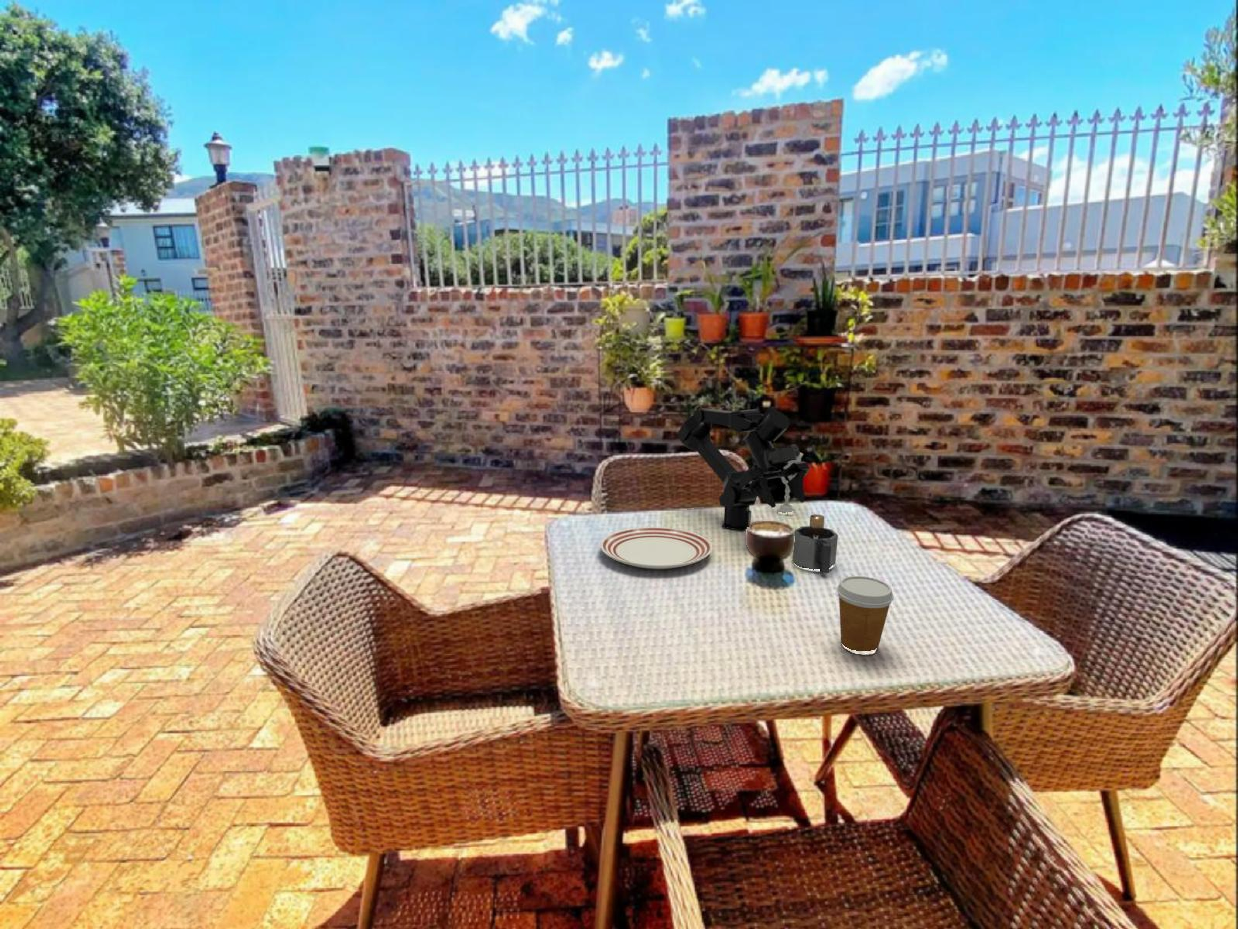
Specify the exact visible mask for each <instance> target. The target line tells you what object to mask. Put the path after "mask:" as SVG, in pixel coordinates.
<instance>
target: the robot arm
mask: <svg viewBox="0 0 1238 929" xmlns="http://www.w3.org/2000/svg"><path fill="white" fill-rule="evenodd" d="M713 424H714V425H719V426H725V427H728V428H729V429H730V430H731V431H734V432H736V433H746V432H748V434H747V435H743V436H742V440H741V443H740V446H741V447H747V448H748V449H749V452H750V454H751V455H752V458H753V459H752V461H751V463H752V465H753V466H755V465H756V467H754V468H748V469H747V470H743V471H738V470H736V468H735V467H734V466H733V465H732V463H730V461H729V460H728V459H727V458H726V457H725V456H724V455H723V454H722V453H721V451H720V450H719V449H718V448H717V447H716V445H715V444H714V443H713V442H712V441H711V440H712V439H711V432H712V431H713ZM790 424H791V422H790V419H789V417H788V416H786V414H784V413H783V412H782V411H779V410H777V408H776V407H769V408H767V410H766V411H765V412H764V414H762V413H761V411H760V410H759V409H756V408H753V409H744V410H742V409H741V410H736V411H735V410H734V411H731V410H723V409H715V408H712V407H704V408H703V407H702V408H698V409H696V410H695V411H694V413H693V415H691V416H690V417H689V418H688V419H686V420H685V421H684V422H683V424H682V425H681V427H680V429H679V430H678V432H677V434H678V435H677V436H678V439H679V441H680V442H681V443H682V444H683V445H684V446H685V447H686V448H688V449H690V450H693V451H695V452H697V453H698V454H699V456H701V458H702V459H703V460H704V461H705V463H706V464H707V465H708V466H709V468H710V469H711V470H712V471H713V472H714V473H715V475H716V476H717V478H719V479H720V481H721V482H722V484H723V493H722V494H720V496H719V497H718V501H719V505H720V506H722V507H723V509H724V511H723V512H724V514H723V524H722V525H721V528H723V527H728V528H727V529H729V528H733V529H732V530H735V529H737V530H736V531H742V532H744V531H746V530H747V529H746V527H747V526H748V525H749V524H750V523H751V522H752V521H751V520H752V510H751V509H750V506H753V505H754V506H755V505H756V500H757V498H759V499H761V500H762V501H763V502H765V503H766V504H767V505H769V507H770V508H773V509H774V508H775V507H776V506H777V505H776V502H775V499H774V497H773V493H771V490H770V488H769V486H768V480H771V479H777V478H778V479H779V478H780V479H781V477H784V478H785V480H787V481H788V483H787V485H788V486H789V488H790V491H791V492H792V493H793V494H794V495H795V497H796V498H797V499H798V500H799V502H800V503H804V502H805V501H806V500H805V499H806V498H805V489H804V480H805V476H806V475H808V472H809V471H810V470H811V468H810V466H809V464H808V463H807V461H806V462H805V461H801V462H796V463H792V464H791V465H790V466H789V467H788V468H787V469H784V468H783V467H784V466H787V465H788V461H791V460H796V457H797V456H799V455H800V453H801V452H800V448H799V447H798V445H797V444H796V443H793V444H790V445H786V447H782V448H779V447H774V446H773V444H772V442H775V441H776V440H777V439H778V438H779V437H781V435H782V434H784V433H785V431H786V430H787V429H788V428H789V427H790ZM751 524H752V523H751ZM751 524H750V525H751ZM750 525H749V526H750ZM747 528H748V527H747ZM745 529H746V530H745Z"/></svg>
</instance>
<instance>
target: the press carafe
mask: <svg viewBox="0 0 1238 929" xmlns="http://www.w3.org/2000/svg"><path fill="white" fill-rule="evenodd" d="M809 526H810V525H806V526H805V525H804V526H800V527H798V528H797V529H794V531H793V532H794V533H793V534H794V535H793V537H794V536H795V542H794V541H793V546H794V550H793V549H792V561H794V563H795V564H796V565H797V566H799V567H802V568H809V569H813V570H814V569H820V572H819V573H821V574H829V573H830V571H829V568H830V567H831V566H832V565H834V564H835V565H836V560H837V548H838V540H839V539H838V538H839V535H838V534H837V532H835V531H834V530H833V529H830V528H828V527H827V528H826V527H824V530H823V534H822V535H818V539H814V538H813V537H814V535H813V534H810V533H809ZM792 561H791V562H792ZM794 563H793V564H794Z"/></svg>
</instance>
